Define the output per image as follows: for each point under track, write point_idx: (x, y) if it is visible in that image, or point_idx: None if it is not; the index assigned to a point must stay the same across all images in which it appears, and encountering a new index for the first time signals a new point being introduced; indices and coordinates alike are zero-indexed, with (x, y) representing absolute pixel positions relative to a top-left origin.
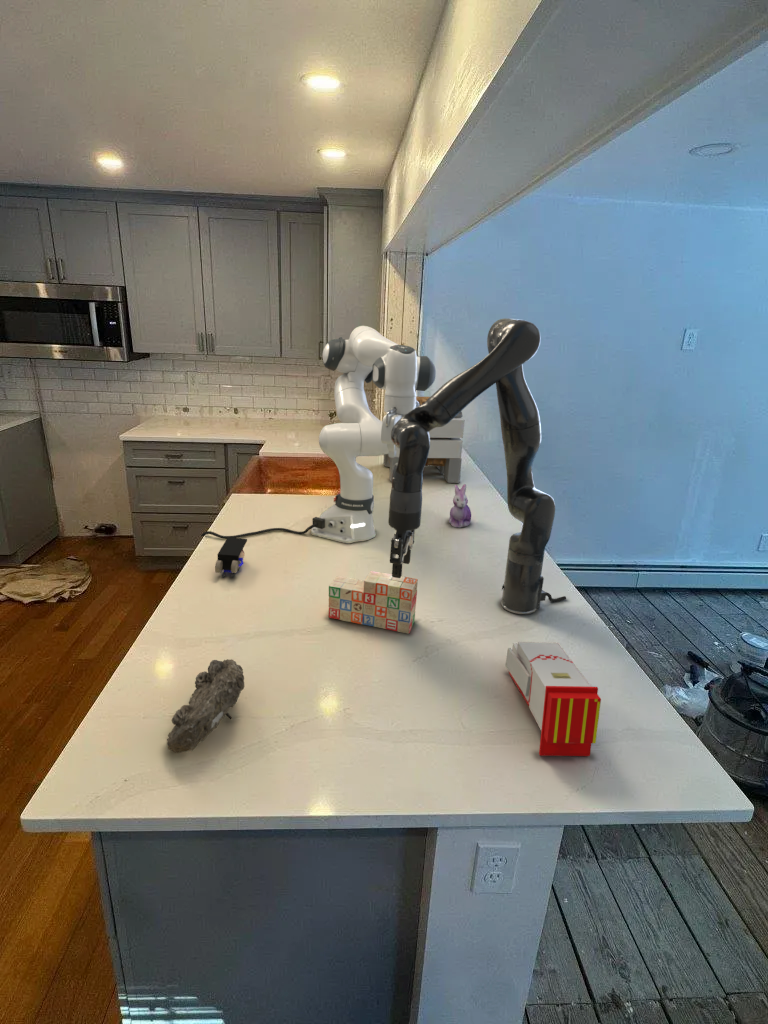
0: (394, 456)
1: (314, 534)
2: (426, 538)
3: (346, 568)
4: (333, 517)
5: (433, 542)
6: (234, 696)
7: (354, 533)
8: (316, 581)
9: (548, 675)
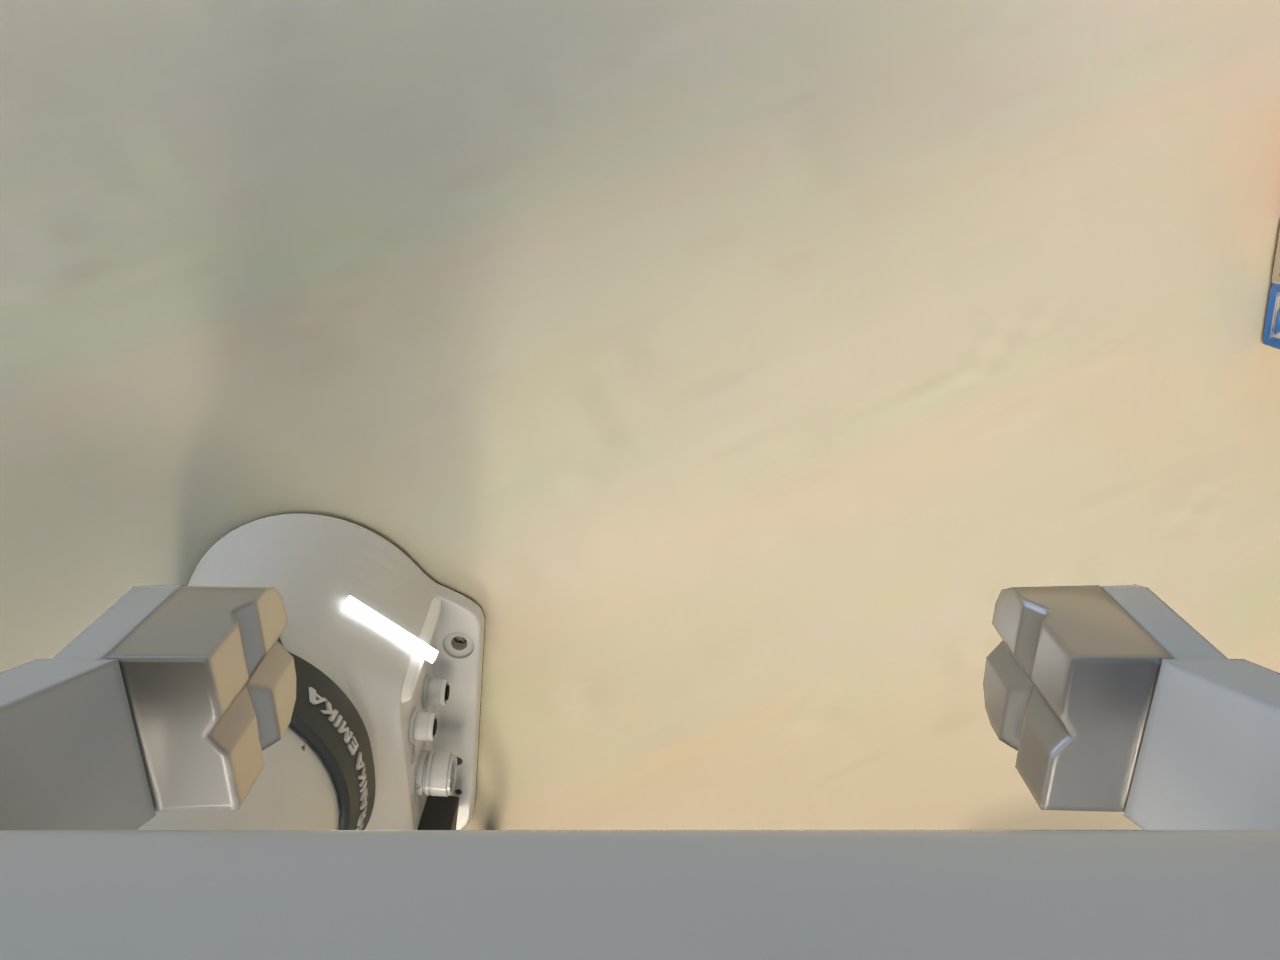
0: (1142, 586)
1: (473, 805)
2: (92, 184)
3: (800, 482)
4: (409, 797)
5: (129, 109)
6: None
7: (425, 615)
8: (1006, 553)
9: None
